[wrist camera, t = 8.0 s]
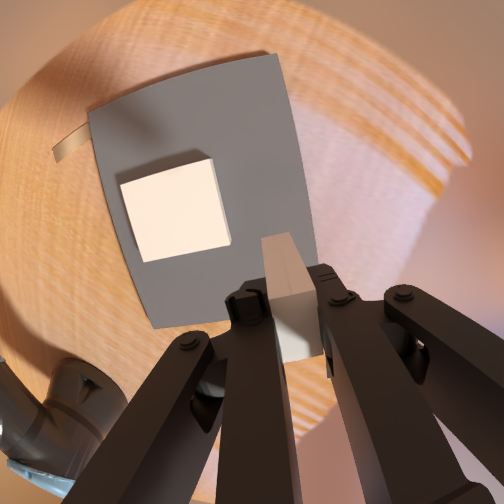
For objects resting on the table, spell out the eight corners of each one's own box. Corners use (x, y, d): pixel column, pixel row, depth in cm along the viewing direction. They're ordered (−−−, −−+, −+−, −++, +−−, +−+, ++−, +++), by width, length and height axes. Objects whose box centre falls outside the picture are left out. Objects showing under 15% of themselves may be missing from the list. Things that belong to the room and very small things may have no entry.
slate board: (156, 323, 32) (153, 329, 31) (93, 113, 24) (87, 112, 23) (320, 297, 31) (322, 303, 29) (276, 57, 22) (277, 53, 21)
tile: (231, 239, 27) (149, 256, 28) (212, 158, 25) (127, 182, 25) (230, 244, 26) (143, 262, 26) (209, 158, 23) (120, 185, 24)
